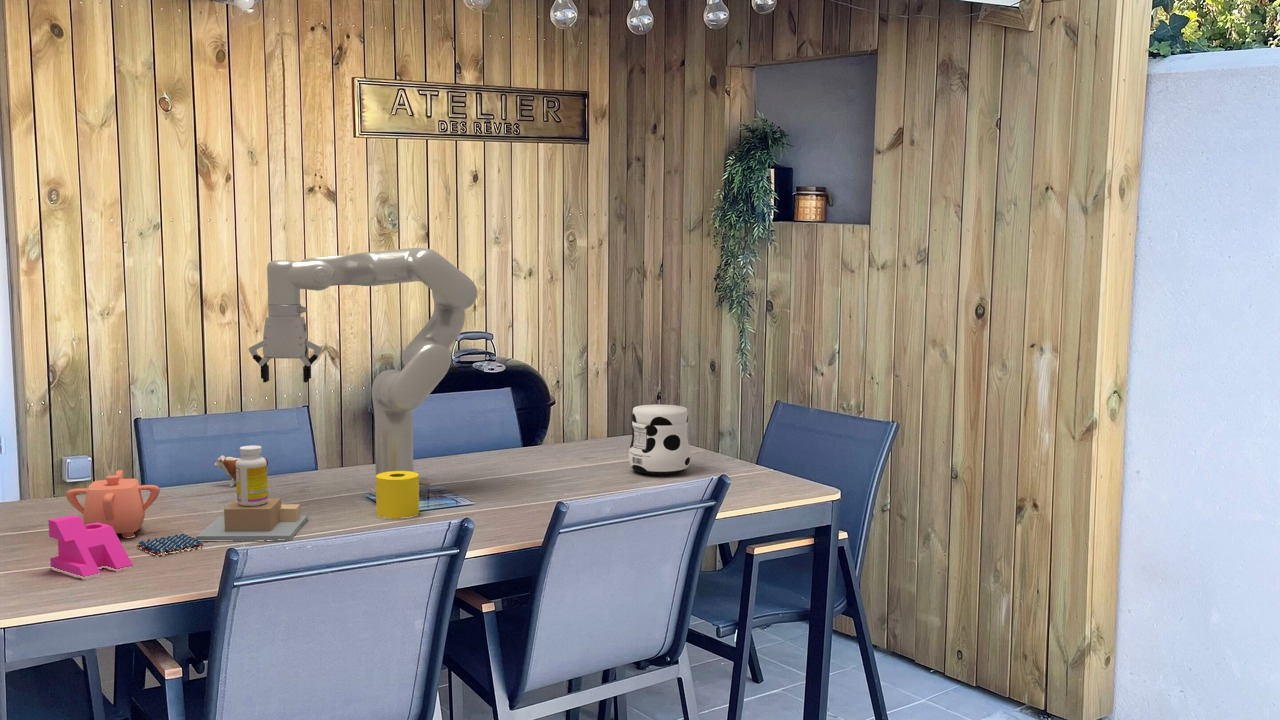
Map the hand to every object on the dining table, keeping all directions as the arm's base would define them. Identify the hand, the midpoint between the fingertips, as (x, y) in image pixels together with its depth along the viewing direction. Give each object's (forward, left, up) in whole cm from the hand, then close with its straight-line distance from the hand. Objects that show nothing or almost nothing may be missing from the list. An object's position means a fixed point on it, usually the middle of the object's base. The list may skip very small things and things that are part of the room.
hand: (286, 381), depth 295 cm
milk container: (-94, -36, -31) cm, 105 cm away
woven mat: (+16, +40, -31) cm, 53 cm away
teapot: (+32, +27, -31) cm, 52 cm away
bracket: (+26, +55, -31) cm, 68 cm away
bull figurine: (+17, -21, -31) cm, 41 cm away
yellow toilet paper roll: (-28, +11, -31) cm, 43 cm away
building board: (+2, +26, -30) cm, 40 cm away
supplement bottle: (+2, +26, -24) cm, 36 cm away
